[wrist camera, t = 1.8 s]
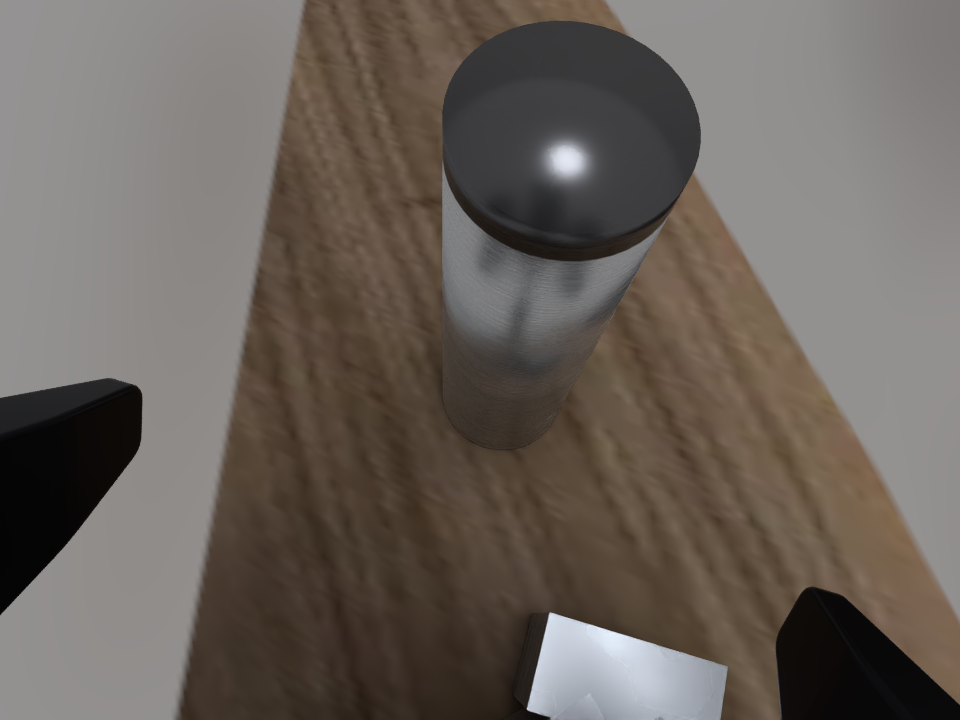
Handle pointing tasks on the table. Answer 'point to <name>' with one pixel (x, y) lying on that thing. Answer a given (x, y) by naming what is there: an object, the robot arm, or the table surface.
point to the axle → (549, 212)
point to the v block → (610, 676)
